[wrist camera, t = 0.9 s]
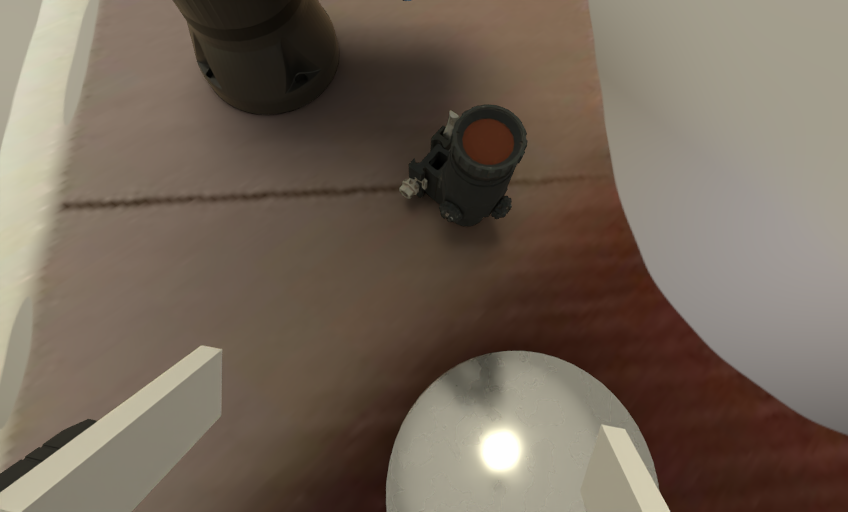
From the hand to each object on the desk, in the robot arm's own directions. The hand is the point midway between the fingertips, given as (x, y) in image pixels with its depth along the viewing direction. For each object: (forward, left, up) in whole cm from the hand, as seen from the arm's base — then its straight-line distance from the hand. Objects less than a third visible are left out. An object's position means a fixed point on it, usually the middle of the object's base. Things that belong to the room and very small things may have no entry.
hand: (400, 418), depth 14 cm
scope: (-18, +4, -25) cm, 31 cm away
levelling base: (+8, +10, -25) cm, 28 cm away
